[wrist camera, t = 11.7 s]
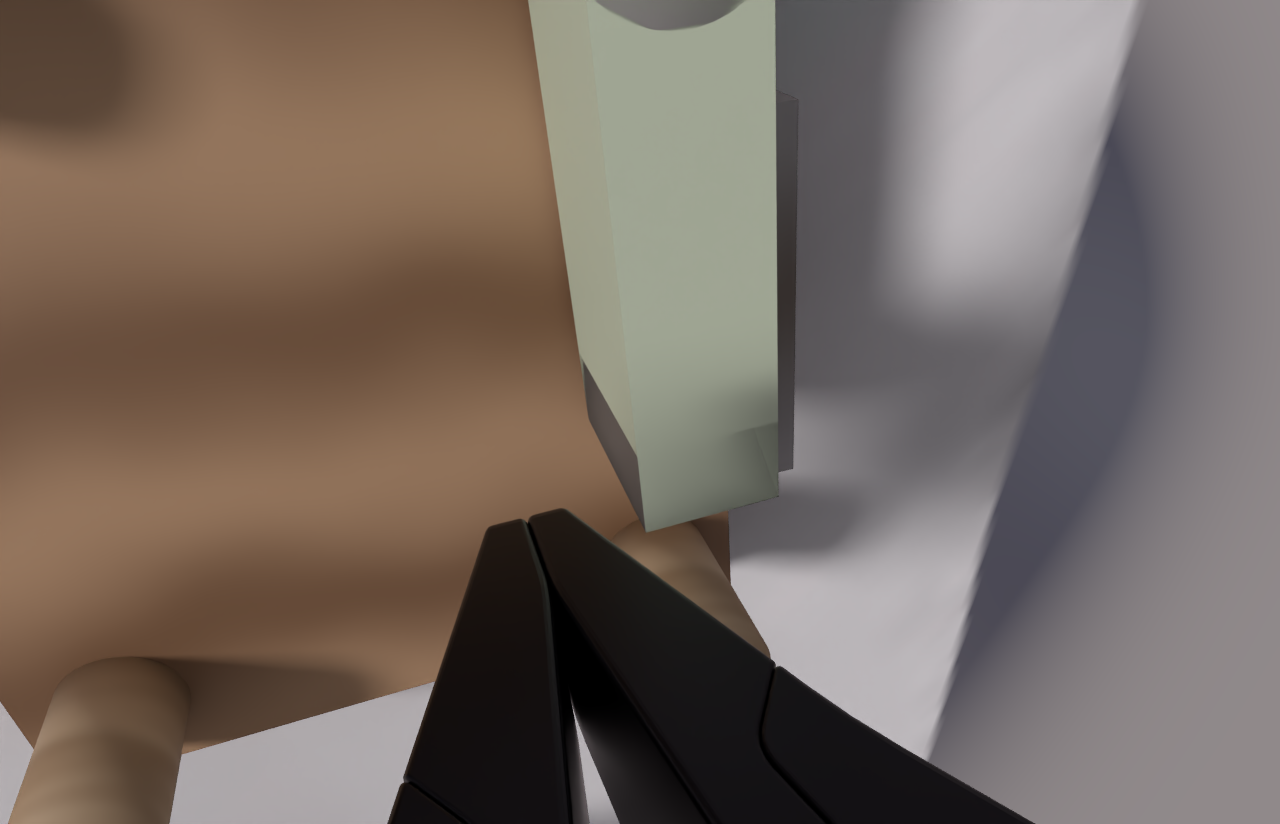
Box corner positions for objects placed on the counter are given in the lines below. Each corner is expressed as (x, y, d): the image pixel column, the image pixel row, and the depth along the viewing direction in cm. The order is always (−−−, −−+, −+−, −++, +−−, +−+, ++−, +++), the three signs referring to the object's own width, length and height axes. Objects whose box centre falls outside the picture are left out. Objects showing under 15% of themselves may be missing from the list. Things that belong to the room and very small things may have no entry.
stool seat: (712, 546, 24) (809, 710, 19) (82, 719, 21) (6, 972, 16) (671, -257, 15) (843, -341, 10) (-495, -185, 11) (-1130, -253, 6)
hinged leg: (470, -230, 12) (521, -281, 9) (681, -247, 13) (801, -299, 10) (572, 423, 18) (626, 538, 15) (714, 389, 19) (796, 491, 15)
